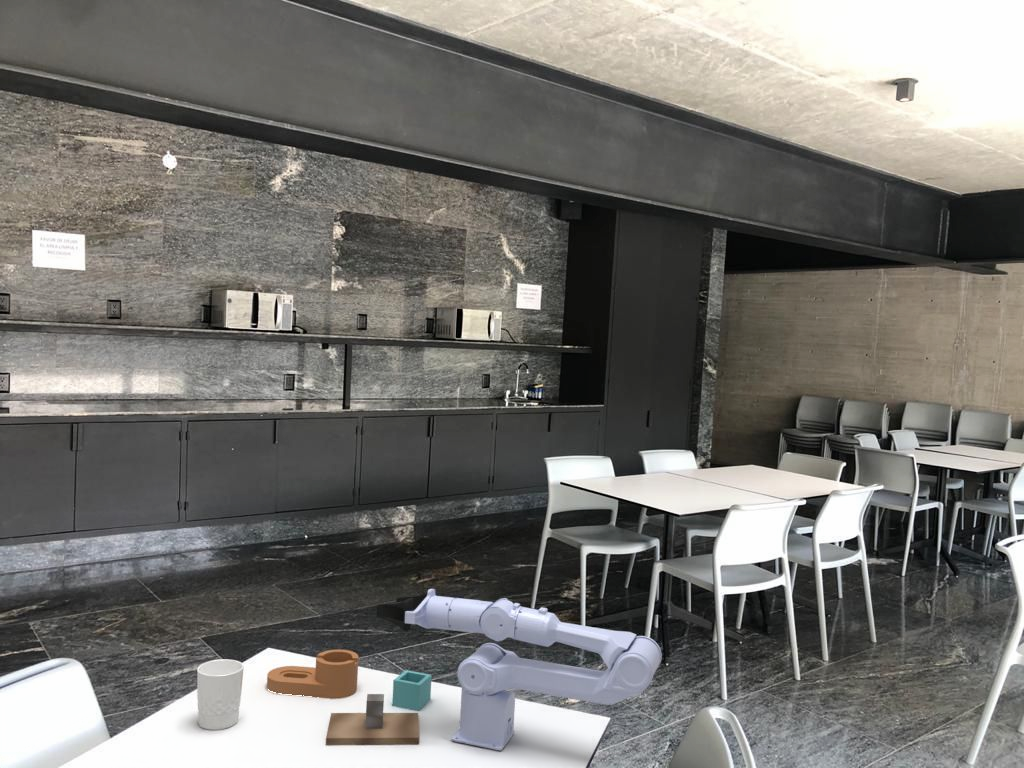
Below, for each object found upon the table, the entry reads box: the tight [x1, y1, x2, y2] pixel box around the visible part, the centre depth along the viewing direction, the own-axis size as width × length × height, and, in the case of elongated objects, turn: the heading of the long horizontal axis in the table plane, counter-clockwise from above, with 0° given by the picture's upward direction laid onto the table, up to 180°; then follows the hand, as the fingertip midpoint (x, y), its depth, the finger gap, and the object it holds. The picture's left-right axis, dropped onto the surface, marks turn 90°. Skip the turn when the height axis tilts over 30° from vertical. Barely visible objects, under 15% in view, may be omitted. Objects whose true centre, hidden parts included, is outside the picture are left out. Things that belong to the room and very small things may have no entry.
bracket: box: [266, 649, 359, 700], centre depth 165 cm, size 18×8×7 cm, turn 86°
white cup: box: [196, 658, 245, 731], centre depth 147 cm, size 8×8×10 cm
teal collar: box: [391, 670, 432, 712], centre depth 160 cm, size 6×6×5 cm
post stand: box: [325, 693, 420, 746], centre depth 147 cm, size 16×10×6 cm, turn 97°
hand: (387, 606), depth 153 cm, fingers open, 7 cm apart
